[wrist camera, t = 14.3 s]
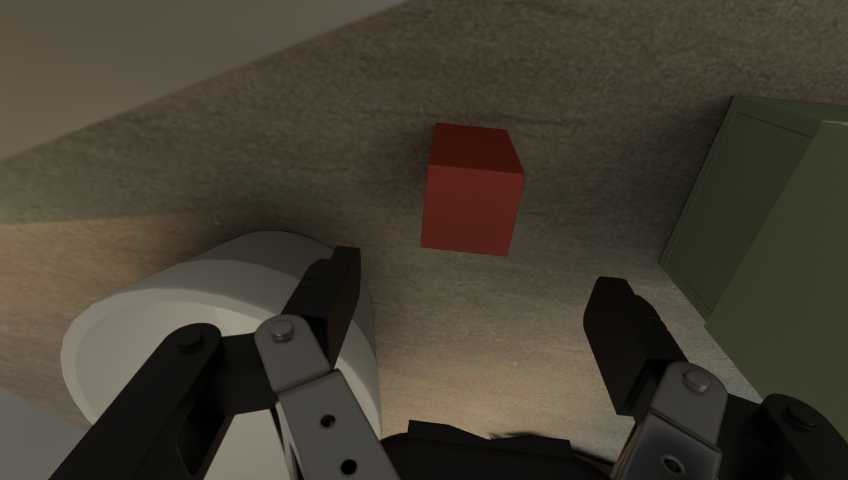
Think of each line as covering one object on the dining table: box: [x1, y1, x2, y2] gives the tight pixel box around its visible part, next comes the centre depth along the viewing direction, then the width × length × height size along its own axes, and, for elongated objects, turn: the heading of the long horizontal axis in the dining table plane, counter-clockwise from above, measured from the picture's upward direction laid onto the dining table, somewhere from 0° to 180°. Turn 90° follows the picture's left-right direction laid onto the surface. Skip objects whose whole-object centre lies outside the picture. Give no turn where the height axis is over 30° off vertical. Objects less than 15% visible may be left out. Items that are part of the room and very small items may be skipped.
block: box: [421, 123, 525, 256], centre depth 22 cm, size 4×4×8 cm
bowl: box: [60, 231, 382, 480], centre depth 28 cm, size 19×19×11 cm
